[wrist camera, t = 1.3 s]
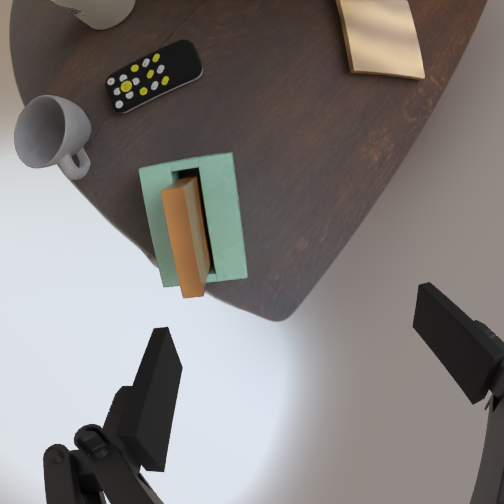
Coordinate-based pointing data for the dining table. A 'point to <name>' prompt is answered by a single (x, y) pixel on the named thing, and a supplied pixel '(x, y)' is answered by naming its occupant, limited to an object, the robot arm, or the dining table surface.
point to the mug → (53, 135)
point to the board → (381, 38)
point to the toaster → (216, 207)
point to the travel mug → (98, 11)
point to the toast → (188, 233)
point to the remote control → (153, 76)
